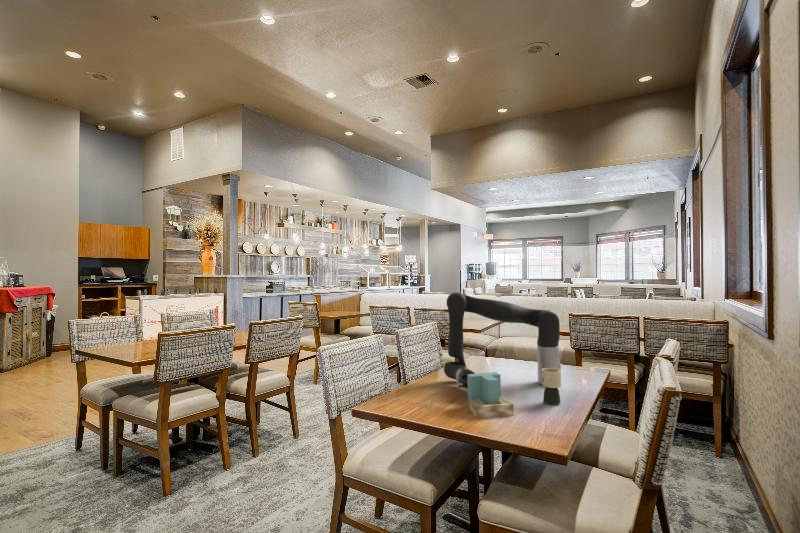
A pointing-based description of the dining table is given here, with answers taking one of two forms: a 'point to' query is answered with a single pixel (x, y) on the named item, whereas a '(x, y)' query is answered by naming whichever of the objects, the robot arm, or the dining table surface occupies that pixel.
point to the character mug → (551, 385)
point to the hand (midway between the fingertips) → (480, 388)
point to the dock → (491, 408)
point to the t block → (484, 387)
